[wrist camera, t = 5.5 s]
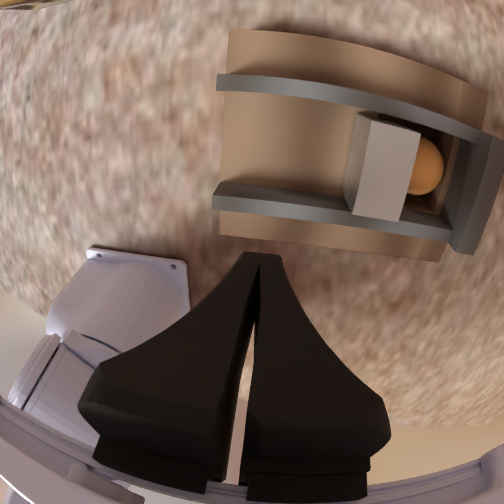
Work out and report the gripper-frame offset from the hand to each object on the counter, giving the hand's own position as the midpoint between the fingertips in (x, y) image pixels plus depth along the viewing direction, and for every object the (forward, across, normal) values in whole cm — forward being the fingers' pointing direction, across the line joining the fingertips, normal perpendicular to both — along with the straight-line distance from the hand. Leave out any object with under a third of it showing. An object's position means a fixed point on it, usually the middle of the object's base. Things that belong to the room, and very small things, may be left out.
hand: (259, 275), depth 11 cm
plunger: (+7, -5, -3) cm, 9 cm away
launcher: (+9, -5, -4) cm, 11 cm away
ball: (+8, -8, -3) cm, 12 cm away
